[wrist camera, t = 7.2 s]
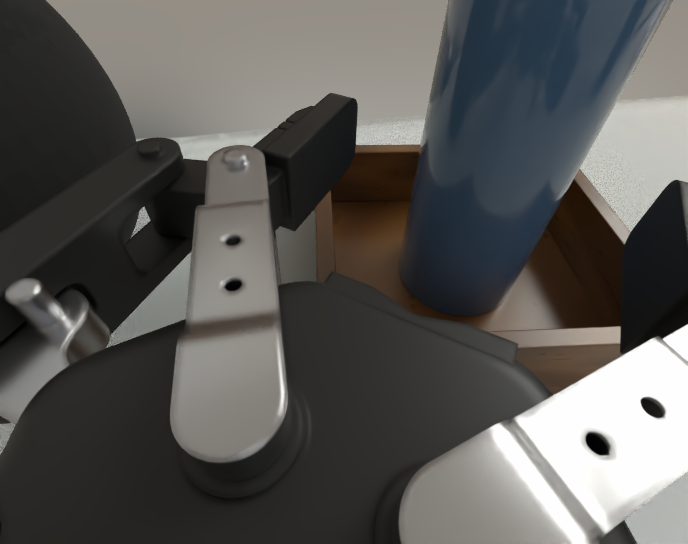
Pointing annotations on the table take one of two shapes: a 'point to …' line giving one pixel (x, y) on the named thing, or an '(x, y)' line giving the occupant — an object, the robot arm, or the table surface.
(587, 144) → the canister
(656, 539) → the table surface
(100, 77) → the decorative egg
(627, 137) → the table surface
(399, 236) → the wooden box
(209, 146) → the table surface
